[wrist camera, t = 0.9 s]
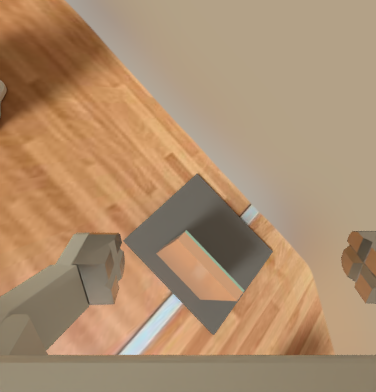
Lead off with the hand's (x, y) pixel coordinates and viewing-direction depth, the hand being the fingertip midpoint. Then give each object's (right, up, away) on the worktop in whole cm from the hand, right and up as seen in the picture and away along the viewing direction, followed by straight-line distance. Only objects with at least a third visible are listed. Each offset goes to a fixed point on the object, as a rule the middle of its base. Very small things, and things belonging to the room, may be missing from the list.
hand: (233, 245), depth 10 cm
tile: (-3, -10, +33) cm, 34 cm away
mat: (+1, -7, +36) cm, 37 cm away
